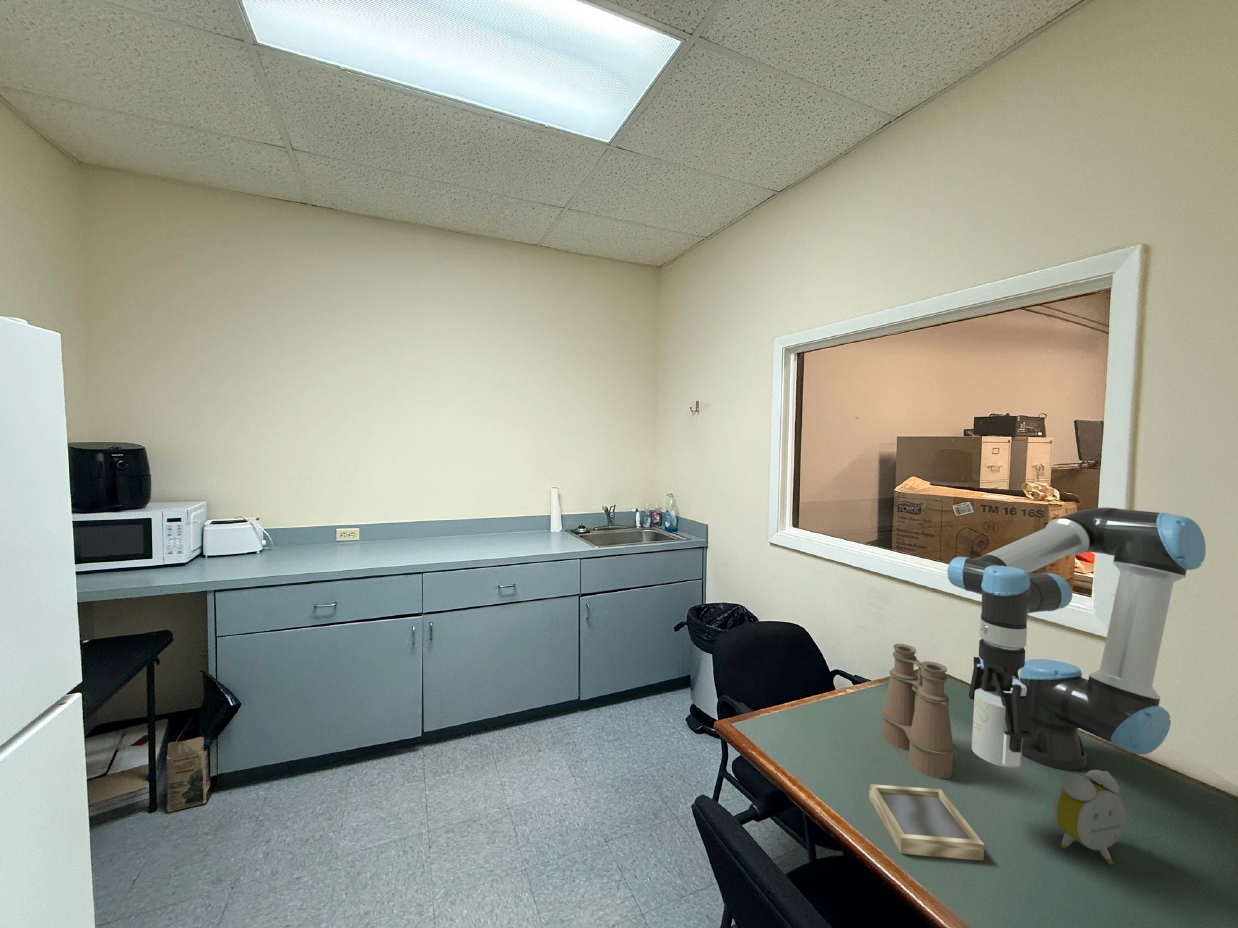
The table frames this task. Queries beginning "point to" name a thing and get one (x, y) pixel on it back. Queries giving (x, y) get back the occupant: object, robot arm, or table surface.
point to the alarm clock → (1090, 811)
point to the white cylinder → (989, 727)
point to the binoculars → (919, 713)
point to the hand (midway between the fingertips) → (995, 750)
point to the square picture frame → (925, 822)
